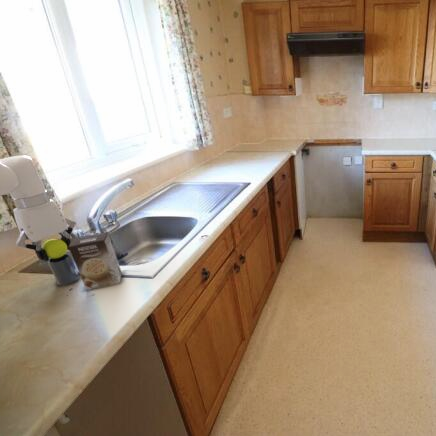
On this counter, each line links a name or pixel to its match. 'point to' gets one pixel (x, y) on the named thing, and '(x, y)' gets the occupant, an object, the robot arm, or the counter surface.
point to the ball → (55, 248)
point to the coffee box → (96, 260)
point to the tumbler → (63, 270)
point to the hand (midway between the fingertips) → (57, 254)
